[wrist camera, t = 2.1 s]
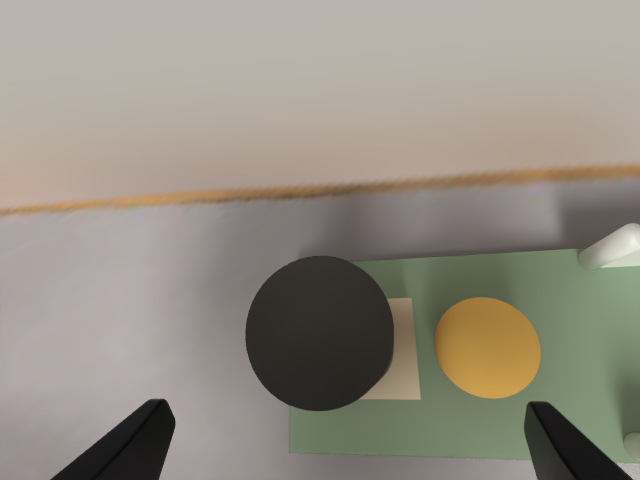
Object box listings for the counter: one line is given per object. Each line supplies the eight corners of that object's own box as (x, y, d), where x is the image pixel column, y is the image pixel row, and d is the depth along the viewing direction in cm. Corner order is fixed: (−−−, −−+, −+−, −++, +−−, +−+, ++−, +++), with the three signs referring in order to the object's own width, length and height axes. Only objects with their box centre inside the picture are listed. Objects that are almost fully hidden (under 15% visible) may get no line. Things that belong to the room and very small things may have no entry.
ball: (540, 374, 16) (583, 376, 13) (455, 409, 17) (474, 421, 13) (491, 292, 18) (518, 272, 14) (415, 324, 18) (420, 313, 14)
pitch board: (829, 463, 14) (859, 470, 14) (294, 448, 18) (289, 452, 17) (741, 244, 17) (761, 237, 16) (296, 269, 21) (292, 265, 20)
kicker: (416, 395, 17) (452, 437, 7) (308, 394, 18) (198, 431, 8) (409, 306, 18) (429, 231, 8) (309, 310, 19) (215, 246, 9)
